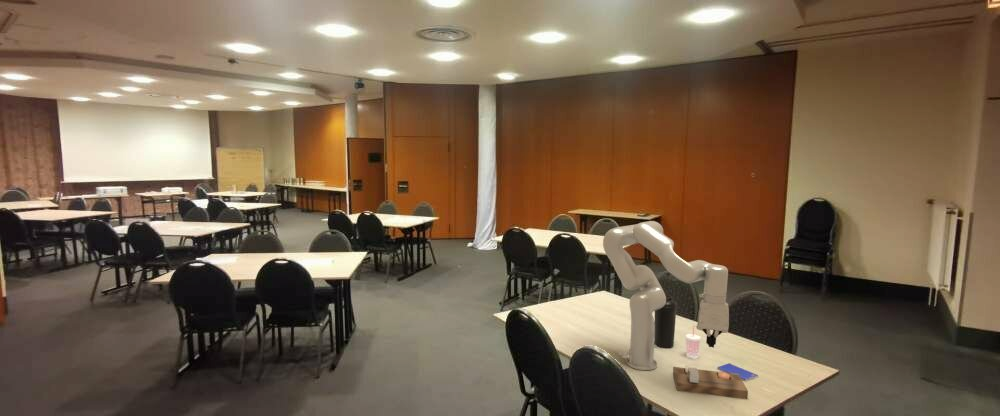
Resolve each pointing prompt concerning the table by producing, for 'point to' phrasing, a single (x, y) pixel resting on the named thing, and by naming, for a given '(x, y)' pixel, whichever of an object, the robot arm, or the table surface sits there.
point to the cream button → (687, 368)
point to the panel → (711, 383)
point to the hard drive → (738, 372)
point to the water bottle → (665, 324)
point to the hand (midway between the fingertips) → (710, 345)
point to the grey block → (693, 375)
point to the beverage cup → (692, 345)
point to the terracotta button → (723, 375)
